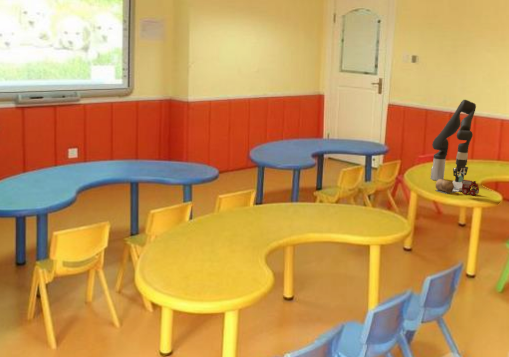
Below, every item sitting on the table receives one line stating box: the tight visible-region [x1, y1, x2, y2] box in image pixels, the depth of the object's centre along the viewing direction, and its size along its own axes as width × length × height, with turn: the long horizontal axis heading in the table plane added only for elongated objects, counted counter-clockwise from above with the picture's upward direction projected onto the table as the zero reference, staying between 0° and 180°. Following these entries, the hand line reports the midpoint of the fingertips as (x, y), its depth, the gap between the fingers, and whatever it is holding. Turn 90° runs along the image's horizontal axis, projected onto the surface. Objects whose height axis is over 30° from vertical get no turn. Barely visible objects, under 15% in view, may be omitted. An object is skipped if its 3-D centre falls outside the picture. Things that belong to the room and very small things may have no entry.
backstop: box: [452, 180, 462, 192], centre depth 486 cm, size 11×7×5 cm, turn 35°
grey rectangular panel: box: [435, 188, 460, 195], centre depth 483 cm, size 10×21×1 cm, turn 125°
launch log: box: [435, 179, 454, 194], centre depth 478 cm, size 10×8×8 cm
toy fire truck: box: [461, 179, 480, 197], centre depth 473 cm, size 7×12×10 cm, turn 60°
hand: (459, 181), depth 467 cm, fingers closed on rubber ball, 5 cm apart
